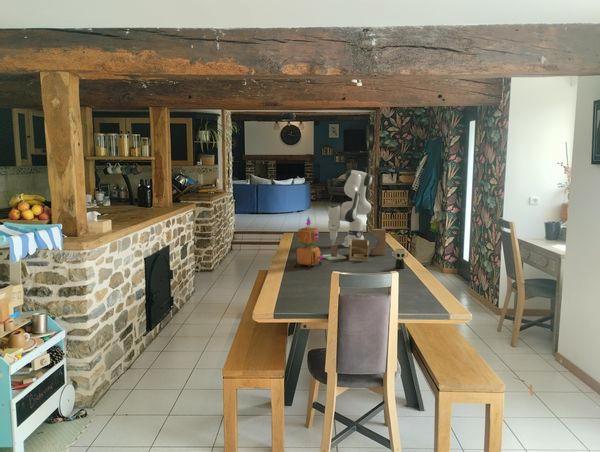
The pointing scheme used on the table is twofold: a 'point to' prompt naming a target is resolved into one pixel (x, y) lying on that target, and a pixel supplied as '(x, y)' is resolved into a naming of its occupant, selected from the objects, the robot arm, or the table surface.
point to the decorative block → (379, 242)
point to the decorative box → (308, 246)
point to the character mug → (400, 257)
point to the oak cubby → (358, 250)
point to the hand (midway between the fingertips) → (333, 244)
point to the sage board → (334, 257)
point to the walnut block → (334, 250)
